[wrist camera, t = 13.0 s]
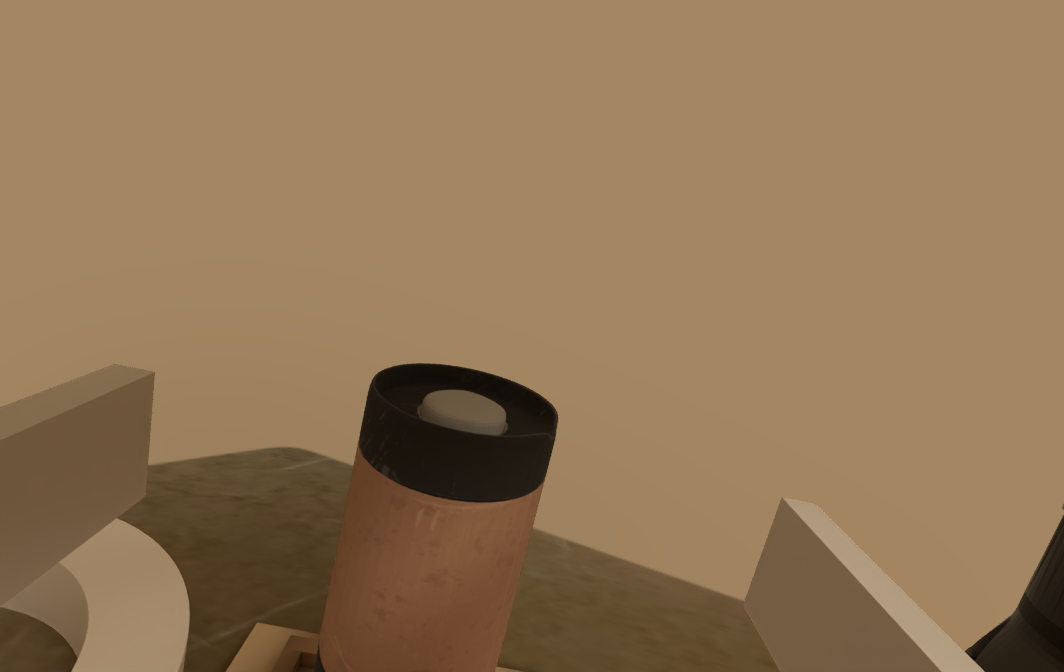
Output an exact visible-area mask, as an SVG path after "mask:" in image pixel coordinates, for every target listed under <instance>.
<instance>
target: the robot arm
mask: <svg viewBox="0 0 1064 672" xmlns="http://www.w3.org/2000/svg"><path fill="white" fill-rule="evenodd" d="M154 376H155V372H152V371H147V370H142V369H137V368H132V367H127V366H122V365H117V364H114V365H111V366H108V367H106V368H103V369H100V370H98V371H95V372H93V373H90V374H87V375H85V376H82V377H80V378H77V379H74V380H71V381H69V382H66V383H64V384H61V385H58V386H56V387H53V388H50V389H48V390H45V391H43V392H40V393H37V394H35V395H32V396H29V397H26V398H24V399H21V400H18V401H16V402H13V403H11V404H8V405H5V406H3V407H0V607H1V606H2V605H3V604H5V603H6V602H7V601H9V600H10V599H11V598H13V597H14V596H15V595H16V594H18V593H19V592H20V591H22V590H23V589H24V588H26V587H27V586H28V585H30V584H31V583H32V582H34V581H35V580H36V579H37V578H39V577H40V576H41V575H43V574H44V573H45V572H47V571H48V570H49V569H51V568H52V567H53V566H55V565H56V564H57V563H58V562H60V561H61V560H62V559H64V558H65V557H66V556H68V555H69V554H70V553H72V552H73V551H74V550H76V549H77V548H78V547H79V546H81V545H82V544H83V543H85V542H86V541H87V540H89V539H90V538H91V537H93V536H94V535H95V534H97V533H98V532H99V531H100V530H102V529H103V528H104V527H106V526H107V525H108V524H110V523H111V522H112V521H114V520H115V519H116V518H118V517H119V516H120V515H121V514H123V513H124V512H125V511H127V510H128V509H129V508H131V507H132V506H133V505H135V504H136V503H137V502H139V501H140V500H141V499H142V498H144V497H145V496H146V483H147V470H148V457H149V443H150V430H151V416H152V403H153V390H154ZM1062 508H1063V509H1064V504H1063V507H1062ZM743 607H744V609H745V610H746V612H747V614H748V616H749V618H750V619H751V621H752V623H753V625H754V626H755V628H756V630H757V632H758V633H759V635H760V637H761V639H762V641H763V642H764V644H765V646H766V648H767V649H768V651H769V653H770V655H771V656H772V658H773V660H774V662H775V664H776V665H777V667H778V669H779V671H780V672H1064V516H1063V518H1062V519H1061V521H1060V523H1059V525H1058V527H1057V529H1056V531H1055V533H1054V535H1053V537H1052V539H1051V541H1050V543H1049V545H1048V547H1047V549H1046V551H1045V553H1044V555H1043V557H1042V559H1041V561H1040V562H1039V564H1038V567H1037V569H1036V571H1035V572H1034V574H1033V576H1032V578H1031V580H1030V582H1029V584H1028V586H1027V588H1026V590H1025V592H1024V595H1023V597H1022V599H1021V601H1020V603H1019V605H1018V607H1017V608H1016V610H1015V611H1014V613H1013V614H1012V615H1011V616H1009V617H1008V618H1007V619H1006V620H1004V621H1003V622H1002V623H1000V624H999V625H998V626H997V627H995V628H994V629H993V630H991V631H990V632H989V633H988V634H987V635H985V636H984V637H982V638H981V639H980V640H979V641H977V642H976V643H975V644H974V645H973V646H972V647H970V648H968V649H967V650H966V651H965V652H964V651H963V650H962V649H961V648H960V647H959V646H958V645H957V644H956V643H955V642H954V641H953V640H952V639H951V638H950V637H949V636H948V635H947V634H946V633H945V632H944V631H943V630H942V629H941V628H940V627H939V626H938V625H937V624H936V623H935V622H934V621H933V620H932V619H931V618H930V617H929V616H928V615H927V614H926V613H925V612H924V611H923V610H922V609H921V608H920V607H919V606H918V605H917V604H916V603H915V602H914V601H913V600H912V599H911V598H910V597H909V596H908V595H907V594H906V593H905V592H904V591H903V590H902V589H901V588H900V587H899V586H898V585H897V584H896V583H895V582H894V581H893V580H892V579H891V578H890V577H889V576H888V575H887V574H886V573H885V572H884V571H883V570H882V569H881V568H880V567H879V566H878V565H876V563H874V562H873V560H871V559H870V558H869V557H868V556H867V555H866V554H865V553H864V552H863V551H862V550H861V549H860V548H859V547H858V546H857V545H856V544H855V543H854V542H853V541H852V540H851V539H850V538H849V537H848V536H847V535H846V534H845V533H844V532H843V531H842V530H841V529H840V528H839V527H838V526H837V525H836V524H835V523H834V522H833V521H832V520H831V519H830V518H829V517H828V516H827V515H826V514H825V513H824V512H823V511H822V510H821V509H820V508H819V507H818V506H817V505H816V504H813V503H808V502H803V501H797V500H793V499H788V498H783V497H782V499H781V501H780V504H779V507H778V510H777V513H776V515H775V518H774V521H773V524H772V526H771V529H770V532H769V535H768V538H767V540H766V543H765V546H764V549H763V552H762V554H761V557H760V560H759V563H758V565H757V568H756V571H755V574H754V577H753V579H752V582H751V585H750V588H749V590H748V594H747V596H746V599H745V602H744V604H743Z"/></svg>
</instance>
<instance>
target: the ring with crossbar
mask: <svg viewBox="0 0 1064 672" xmlns="http://www.w3.org/2000/svg"><path fill="white" fill-rule="evenodd" d="M1 607H2V608H7V609H10V610H14V611H18V612H21V613H24V614H27V615H29V616H31V617H34V618H36V619H38V620H40V621H42V622H44V623H46V624H47V625H49V626H50V627H52V628H53V629H55V630H56V631H57V632H58V633H59V634H61V635H62V636H63V637H64V639H65V640H66V641H67V642H68V643H69V645H70V646H71V647H72V649H73V651H74V653H75V654H76V656H77V659H78V660H77V662H76V664H75V666H74V667H73V669H72V671H71V672H183V670H184V662H185V654H186V647H187V639H188V632H189V618H190V611H189V600H188V595H187V590H186V586H185V583H184V580H183V578H182V576H181V574H180V572H179V569H178V568H177V566H176V565H175V563H174V561H173V560H172V559H171V557H170V556H169V555H168V554H167V552H166V551H165V550H164V549H163V548H162V547H161V546H160V545H159V544H158V543H157V542H155V541H154V540H153V539H152V538H150V537H149V536H148V535H146V534H145V533H143V532H142V531H140V530H139V529H137V528H135V527H133V526H132V525H130V524H128V523H126V522H124V521H122V520H119V519H117V518H116V519H115V520H114V521H112V522H111V523H110V524H108V525H107V526H106V527H104V528H103V529H102V530H100V531H99V532H98V533H97V534H95V535H94V536H93V537H91V538H90V539H89V540H87V541H86V542H85V543H83V544H82V545H81V546H79V547H78V548H77V549H76V550H74V551H73V552H72V553H70V554H69V555H68V556H66V557H65V558H64V559H62V560H61V561H60V562H58V563H57V564H56V565H55V566H53V567H52V568H51V569H49V570H48V571H47V572H45V573H44V574H43V575H41V576H40V577H39V578H37V579H36V580H35V581H34V582H32V583H31V584H30V585H28V586H27V587H26V588H24V589H23V590H22V591H20V592H19V593H18V594H16V595H15V596H14V597H13V598H11V599H10V600H9V601H7V602H6V603H5V604H3V605H2V606H1Z"/></svg>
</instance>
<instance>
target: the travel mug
mask: <svg viewBox="0 0 1064 672" xmlns="http://www.w3.org/2000/svg"><path fill="white" fill-rule="evenodd" d="M557 423H558V414H557V411H556V409H555V408H554V407H553V405H552V404H551V403H550V402H548V401H547V400H546V399H545V398H543V397H542V396H541V395H539V394H538V393H536V392H534V391H533V390H530V389H529V388H527V387H525V386H523V385H520V384H518V383H516V382H513V381H511V380H508V379H505V378H502V377H499V376H496V375H493V374H489V373H486V372H482V371H478V370H473V369H469V368H463V367H458V366H451V365H442V364H423V363H422V364H421V363H418V364H404V365H398V366H393V367H390V368H387V369H384V370H382V371H380V372H379V373H377V374H376V375H375V377H374V378H373V380H372V382H371V385H370V388H369V392H368V396H367V401H366V407H365V411H364V417H363V421H362V427H361V432H360V437H359V442H358V447H357V452H356V457H355V462H354V467H353V472H352V477H351V482H350V487H349V492H348V497H347V502H346V507H345V512H344V517H343V522H342V527H341V532H340V537H339V542H338V547H337V552H336V557H335V562H334V567H333V572H332V577H331V582H330V587H329V592H328V597H327V602H326V607H325V612H324V617H323V622H322V627H321V632H320V639H319V644H318V650H317V657H316V664H315V671H314V672H495V670H496V667H497V664H498V660H499V656H500V652H501V648H502V644H503V640H504V637H505V633H506V629H507V625H508V621H509V617H510V613H511V609H512V605H513V601H514V598H515V594H516V590H517V586H518V582H519V578H520V574H521V570H522V566H523V562H524V559H525V555H526V551H527V547H528V543H529V539H530V535H531V531H532V527H533V523H534V519H535V516H536V512H537V508H538V504H539V500H540V496H541V492H542V488H543V484H544V480H545V476H546V473H547V469H548V465H549V461H550V457H551V453H552V449H553V445H554V441H555V436H556V429H557Z"/></svg>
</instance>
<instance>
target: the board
mask: <svg viewBox="0 0 1064 672" xmlns="http://www.w3.org/2000/svg"><path fill="white" fill-rule="evenodd" d="M319 639H320V634H317V633H311V632H306V631H301V630H295V629H290V628H284V627H279V626H274V625H268V624H263V623H257V624H256V625H255V627H254V628H253V630H252V631H251V633H250V635H249V636H248V638H247V639H246V641H245V642H244V644H243V645H242V647H241V649H240V650H239V652H238V653H237V655H236V656H235V658H234V659H233V661H232V663H231V664H230V666H229V667H228V669H227V670H226V672H314V671H315V664H316V657H317V650H318V644H319ZM495 672H523V671H517V670H512V669H506V668H501V667H496V670H495Z"/></svg>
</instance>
